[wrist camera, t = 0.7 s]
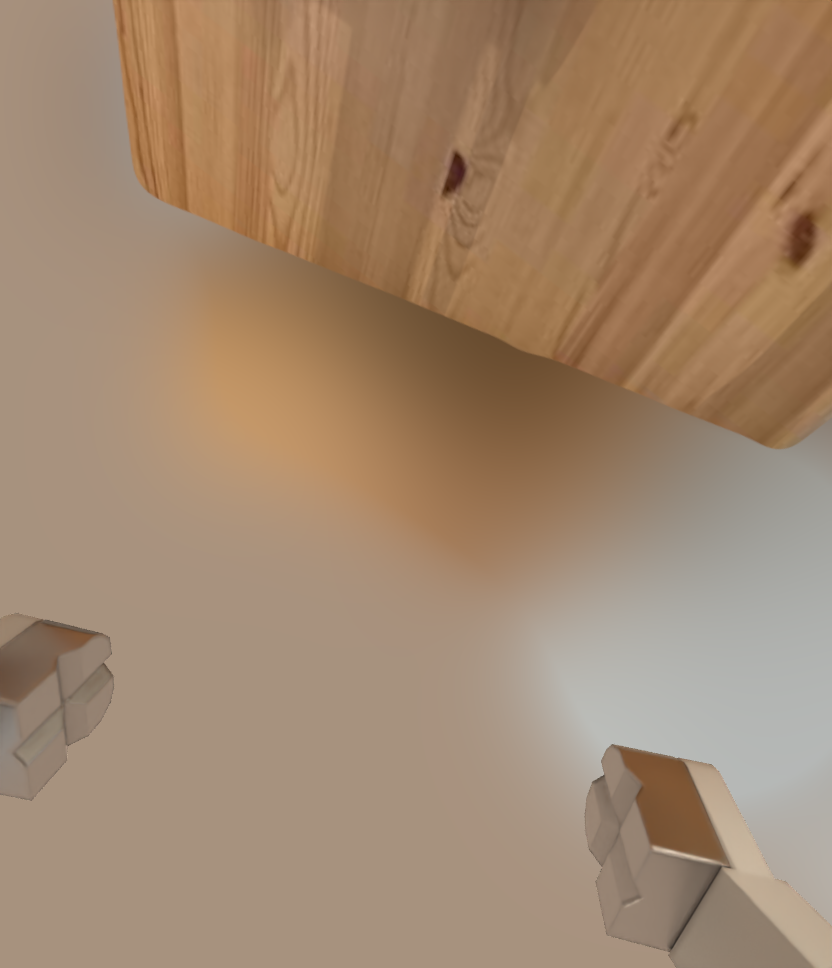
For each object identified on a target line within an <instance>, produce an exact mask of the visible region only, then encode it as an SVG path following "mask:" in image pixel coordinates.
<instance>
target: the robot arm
mask: <svg viewBox="0 0 832 968" xmlns="http://www.w3.org/2000/svg"><path fill="white" fill-rule="evenodd" d="M111 654H112V651H111V642H110V637H108V636H106V635H104V634H102V633H99V632H95V631H90V630H87V629H82V628H78V627H74V626H70V625H66V624H62V623H58V622H54V621H50V620H43V619H39V618H35V617H31V616H27V615H23V614H19V613H15V614H11V615H7V616H4V617H2V618H1V619H0V794H1V795H6V796H11V797H16V798H21V799H26V800H32V799H33V798H34V797H35V796H36V795H37V794H38V792H40V790H41V789H42V788H43V787H44V786H45V785H46V784H47V782H48V781H49V780H50V779H51V778H52V777H53V776H54V775H55V773H56V772H57V771H58V770H59V769H60V768H61V767H62V765H63V764H64V763H65V762H66V761H67V752H68V746H69V745H71V744H73V743H75V742H77V741H79V740H81V739H83V738H85V737H87V736H89V734H90V733H91V732H92V731H93V730H94V729H95V727H96V726H97V725H98V724H99V723H100V721H101V720H102V718H103V716H104V714H105V712H106V710H107V708H108V706H109V704H110V703H111V699H112V694H113V689H114V679H113V674H112V673H111V672H110V671H109V669H108V668H107V666H106V665H105V664H104V662H105V660H106V659H107V658H108V657H109V656H110V655H111ZM601 763H602V767H603V771H604V775H603V776H601V777H600V778H598V779H597V780H595V781H593V782H592V785H591V787H590V790H589V793H588V795H587V799H586V809H585V829H586V836H587V842H588V847H589V850H590V852H591V853H592V854H593V856H594V857H595V858H596V860H597V861H598V862H599V864H600V865H601V866H602V869H601V871H600V874H599V876H598V878H597V880H596V886H597V890H598V896H599V901H600V905H601V910H602V915H603V919H604V925H605V929H606V934H607V935H608V936H612V937H615V938H619V939H623V940H626V941H630V942H634V943H638V944H642V945H645V946H649V947H653V948H657V949H660V950H664V951H668V952H670V954H669V957H670V959H671V960H672V962H673V963H674V965H675V967H676V968H832V926H831V925H830V924H829V923H828V922H827V921H826V920H825V919H824V918H823V917H822V916H821V915H820V914H819V913H818V912H817V911H816V910H815V909H814V908H813V907H812V906H811V905H809V903H807V902H806V901H805V900H804V899H803V898H802V897H801V896H800V895H799V894H798V893H797V892H796V891H795V890H794V889H793V888H792V887H791V886H790V885H789V884H788V883H787V882H785V881H782V880H778V879H774V877H773V875H772V873H771V871H770V869H769V867H768V865H767V863H766V861H765V859H764V857H763V855H762V854H761V851H760V850H759V848H758V846H757V844H756V842H755V840H754V838H753V836H752V834H751V832H750V830H749V828H748V826H747V824H746V822H745V820H744V819H743V817H742V815H741V813H740V811H739V809H738V807H737V805H736V803H735V801H734V799H733V797H732V795H731V794H730V791H729V789H728V787H727V786H726V784H725V782H724V780H723V778H722V776H721V774H720V773H719V771H718V770H717V769H716V768H715V767H714V766H713V765H711V764H707V763H702V762H697V761H692V760H687V759H682V758H675V757H672V756H667V755H662V754H657V753H652V752H648V751H642V750H638V749H633V748H629V747H624V746H619V745H614V744H612V745H611V746H610V747H609V748H608V749H607V750H606V751H605V753H604V756H603V758H602V760H601Z"/></svg>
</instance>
